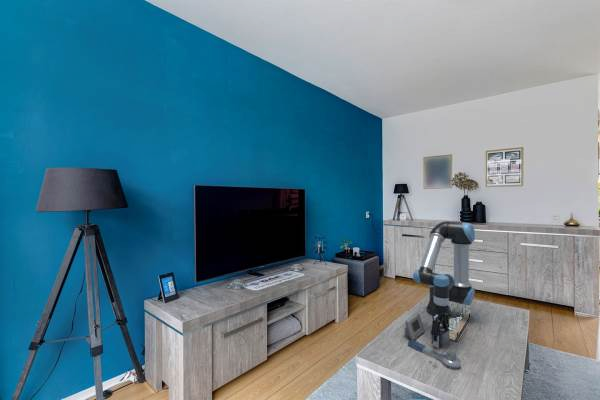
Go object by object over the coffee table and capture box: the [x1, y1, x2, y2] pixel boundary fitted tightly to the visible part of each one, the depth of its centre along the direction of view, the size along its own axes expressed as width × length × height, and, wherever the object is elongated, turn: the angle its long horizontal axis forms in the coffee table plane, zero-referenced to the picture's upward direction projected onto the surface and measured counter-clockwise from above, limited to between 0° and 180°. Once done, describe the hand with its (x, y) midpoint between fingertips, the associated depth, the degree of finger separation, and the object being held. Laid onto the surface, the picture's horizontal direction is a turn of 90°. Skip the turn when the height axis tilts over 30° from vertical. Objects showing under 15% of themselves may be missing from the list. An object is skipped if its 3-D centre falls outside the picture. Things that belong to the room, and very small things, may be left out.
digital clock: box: [404, 312, 425, 341], centre depth 164 cm, size 16×9×11 cm, turn 123°
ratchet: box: [407, 339, 461, 370], centre depth 143 cm, size 8×26×6 cm, turn 37°
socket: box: [431, 326, 450, 349], centre depth 154 cm, size 6×6×9 cm
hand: (440, 343), depth 154 cm, fingers open, 9 cm apart
